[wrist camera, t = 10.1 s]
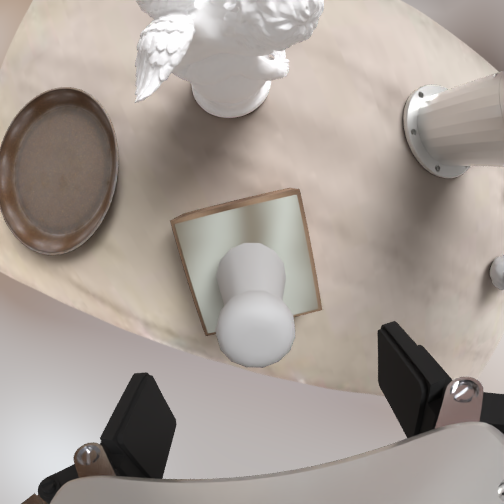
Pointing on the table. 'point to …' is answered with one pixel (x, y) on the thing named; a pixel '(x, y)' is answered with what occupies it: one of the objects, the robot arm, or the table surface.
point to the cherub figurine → (221, 48)
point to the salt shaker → (253, 306)
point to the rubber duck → (498, 272)
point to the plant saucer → (58, 170)
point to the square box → (247, 231)
